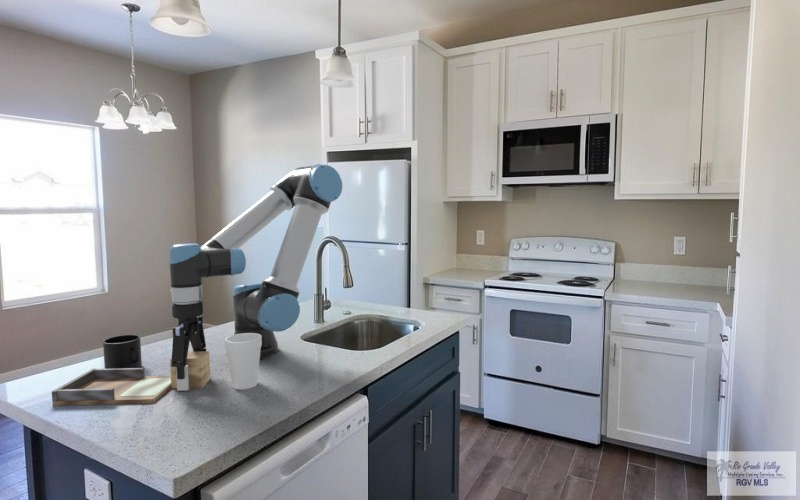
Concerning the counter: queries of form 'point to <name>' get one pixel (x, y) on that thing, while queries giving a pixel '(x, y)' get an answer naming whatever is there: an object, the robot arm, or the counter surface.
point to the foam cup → (243, 359)
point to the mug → (122, 352)
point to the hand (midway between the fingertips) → (191, 382)
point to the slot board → (112, 388)
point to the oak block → (194, 369)
